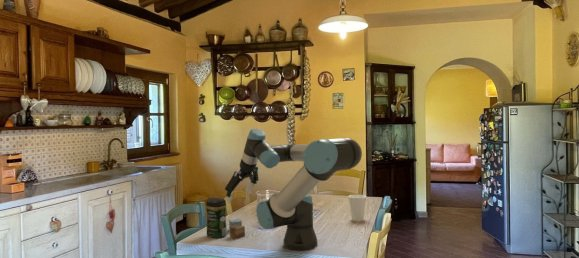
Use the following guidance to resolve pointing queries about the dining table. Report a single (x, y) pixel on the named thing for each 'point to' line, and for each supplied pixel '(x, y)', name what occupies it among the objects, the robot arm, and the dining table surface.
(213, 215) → the coffee jar
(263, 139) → the robot arm
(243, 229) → the walnut block
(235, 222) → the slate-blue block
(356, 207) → the foam cup
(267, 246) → the dining table surface
